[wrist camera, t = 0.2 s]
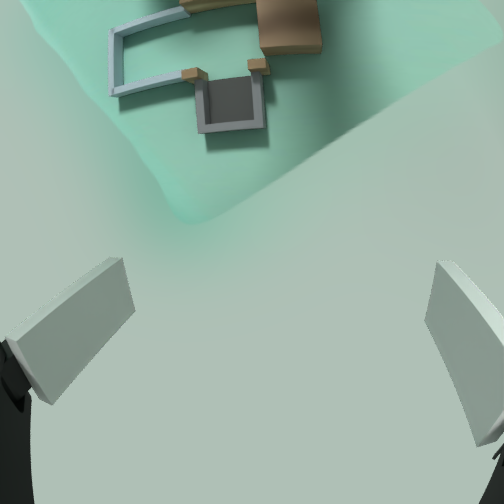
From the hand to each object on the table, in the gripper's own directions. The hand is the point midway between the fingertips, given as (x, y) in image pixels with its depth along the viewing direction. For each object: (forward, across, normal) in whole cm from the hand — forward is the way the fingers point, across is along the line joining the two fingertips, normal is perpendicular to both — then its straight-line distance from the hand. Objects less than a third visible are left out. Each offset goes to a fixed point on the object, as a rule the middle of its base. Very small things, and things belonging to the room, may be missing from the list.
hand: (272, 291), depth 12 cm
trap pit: (+28, -8, +11) cm, 31 cm away
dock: (+28, -18, +20) cm, 39 cm away
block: (+28, 0, +20) cm, 35 cm away
